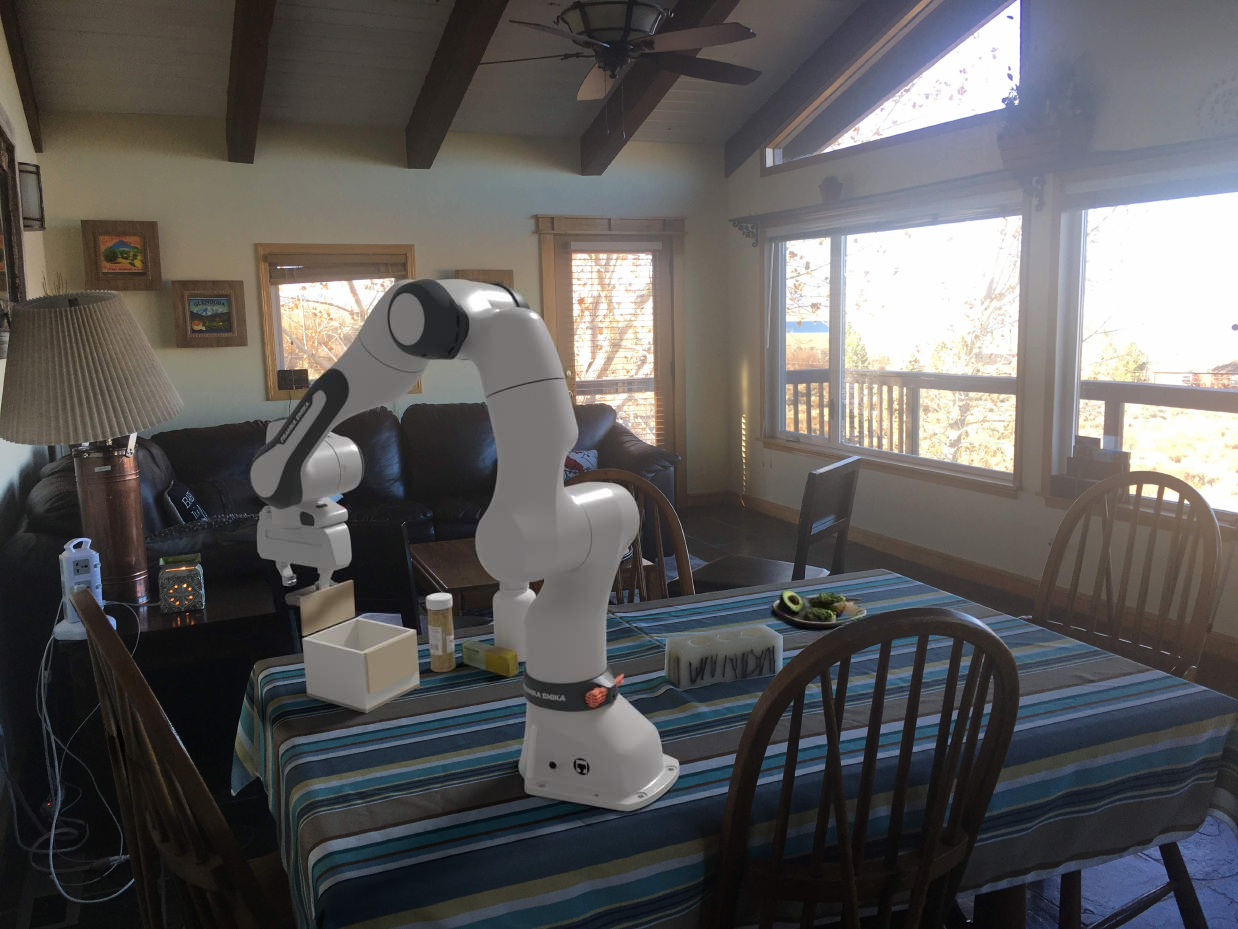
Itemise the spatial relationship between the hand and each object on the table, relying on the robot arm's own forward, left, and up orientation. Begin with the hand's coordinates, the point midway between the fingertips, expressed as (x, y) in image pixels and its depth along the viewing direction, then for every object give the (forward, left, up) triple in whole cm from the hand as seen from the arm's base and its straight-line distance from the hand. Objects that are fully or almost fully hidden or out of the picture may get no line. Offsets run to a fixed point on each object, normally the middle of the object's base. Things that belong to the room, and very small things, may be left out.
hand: (306, 588), depth 159 cm
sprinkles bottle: (-17, -14, -17) cm, 28 cm away
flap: (-5, 0, -3) cm, 6 cm away
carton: (-12, 0, -16) cm, 20 cm away
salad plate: (-65, -72, -17) cm, 99 cm away
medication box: (-25, -18, -17) cm, 35 cm away
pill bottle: (-25, -25, -17) cm, 39 cm away
